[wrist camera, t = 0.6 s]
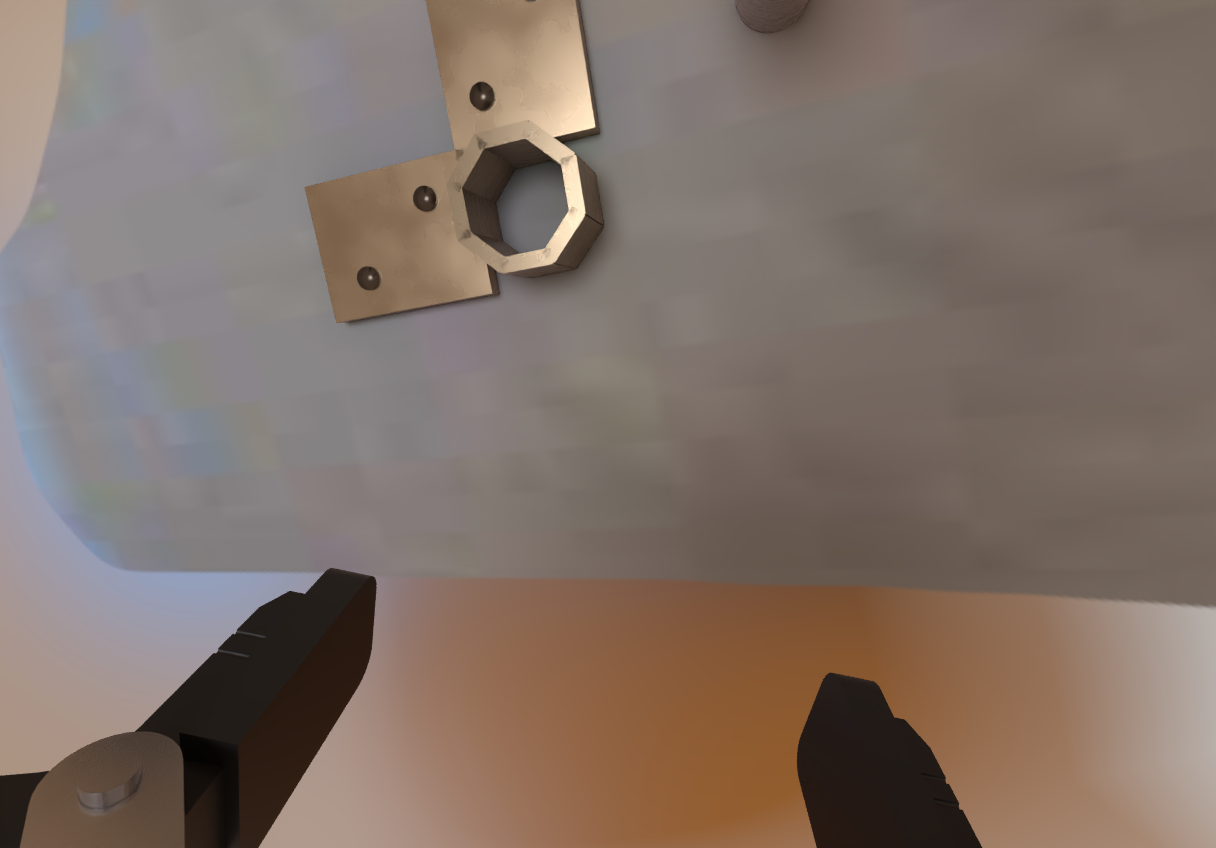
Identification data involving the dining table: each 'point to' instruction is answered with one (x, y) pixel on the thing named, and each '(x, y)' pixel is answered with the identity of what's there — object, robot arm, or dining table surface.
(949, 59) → the dining table surface
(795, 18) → the hinge pin
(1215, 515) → the dining table surface
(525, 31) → the hinge base
